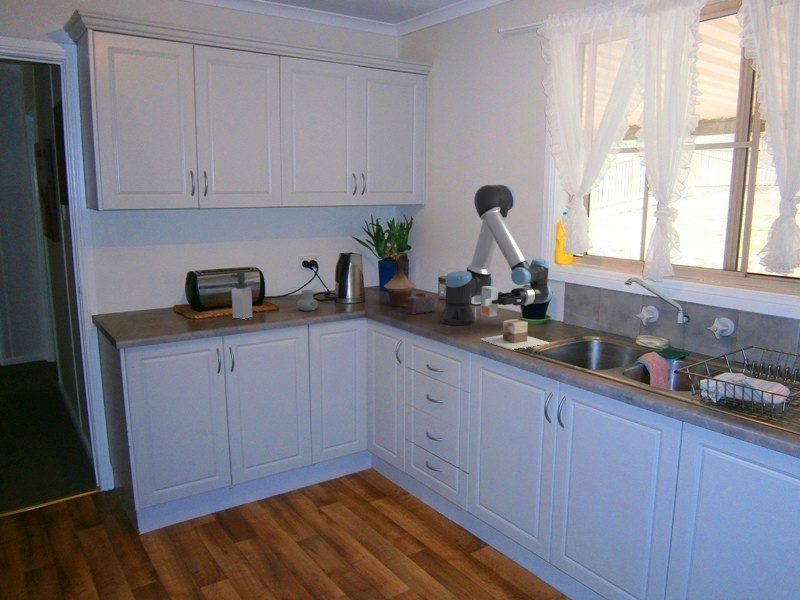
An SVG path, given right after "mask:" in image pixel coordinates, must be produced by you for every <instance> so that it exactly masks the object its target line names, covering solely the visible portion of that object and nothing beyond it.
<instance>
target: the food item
mask: <svg viewBox="0 0 800 600" xmlns="http://www.w3.org/2000/svg"><path fill="white" fill-rule="evenodd" d="M435 301H436V300H435V299H434V298H433V296H432V295H430V294H424V293H419V292H418V293H416V294H415V295H414V296H411V297H408V299H407V306H406V313H407V314H410V313H411V315H416V313H419V314H425V313H424V312H426V313H430V312H432V311H433V310H434V309H435ZM429 311H430V312H429Z"/></svg>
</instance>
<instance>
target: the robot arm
mask: <svg viewBox="0 0 800 600" xmlns="http://www.w3.org/2000/svg"><path fill="white" fill-rule="evenodd" d="M516 199H517V198H516V194H515V192H514V190H513V189H512V188H511V187H510V186H508V185H504V184H487V185H482V186H481V187H479V188H478V189H477V191H476V193H475V195H474V199H473V201H474V202H473V203H474V207H475V210H476V212H477V215H478V216H479V218H480V219H481V220H482V223H481V226H480V230H479V233H478V234H479V235H478V237H477V242H476V246H475V249H474V254H473V257H472V262H471V263H470V264H468V265H467V267H466V270H458V271H451V272H449V273H448V274H447V275H446V277H445V279H446V280H445V307H444V309H443V312H442V316H441V323H443V324H445V325H450V326H469V325H473V324H475V317H474V313H473V310H472V307H471V305H472V304H471V302H472V298H473V303H474V304H475V303H476V304H477V303H481V295H482V287H484V286H491V287H493V284H494V282H493V278H492V271H491V269H490V268H491V267H490V266H491V263H492V259H493V255H494V251H495V248H496V245H497V246H498V248H499V250H500V251H501V253H502V255H503V257H504V259H505V260H506V263H507V264H508V266H509V268H510V269H511V273H510V274H511V275H510V278H511V281H512V283H514V284H515V285H517V286H522V287H516V288H512V289H511V290H510V292H509V291H507V292H502V291H498V298H490V299H485V300H484V306H488V305H497V306H498V305H499V306H500V305H502V306H508V305H513V306H516V307H517V306H523V305H524V306H528V305H531V304H543V303H547V302H549V301H551V299H552V298H553V291H552V288H551V287H550V286H549V285H548V280H549V269H550V267H549V265H550V264H549V261H548V260H547V259H544V258H533V259H532V260H531V264H529V262H528V261H527V258H526V257H525V255H524V253H523V251H522V250H521V247H520V246H519V245H518V242H517V241H516V239H515V237H514V236H513V233H512V232H511V229H510V228H509V226H508V225H507V223H506V221H505V219H507V216H508V213H509V211H510V210H512V209H513V208H514V206H515V205H516V201H517V200H516ZM528 284H529V286H525V285H528ZM524 286H525V287H524Z"/></svg>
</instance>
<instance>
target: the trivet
mask: <svg viewBox="0 0 800 600" xmlns="http://www.w3.org/2000/svg"><path fill="white" fill-rule="evenodd" d="M482 340H483V341H482ZM480 341H482V342H485V341H486V343H488V342H489V343H488V344H491V343H492V344H491V345H495V346H498V347H499V348H500V347H501V348H504V349H507V350H509V351H512V350H514V349H518V348H525V349H527V348H526V347H531V348H534V347H533V346H537V345H542V346H545V345H544V344H548V345H550V344H549V343H550V342H549V341H546V340H542V339H539V338H535V337H534V336H529V335H527V341H526V342H520V343H511V342H508V341H505V340H503V334H500V335H499V334H498V335H493V336H489V337H481V338H480ZM537 347H538V346H537ZM514 351H515V350H514Z"/></svg>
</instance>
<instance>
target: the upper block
mask: <svg viewBox="0 0 800 600" xmlns="http://www.w3.org/2000/svg"><path fill="white" fill-rule="evenodd" d="M528 324H529V321H524V320H521V319H517V318H514V319H508V320H507V319H506V320H503V321H502V332H503V331H506V332H510V333H513V334H517V333H523V332H527V333H528V326H529V325H528Z"/></svg>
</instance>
